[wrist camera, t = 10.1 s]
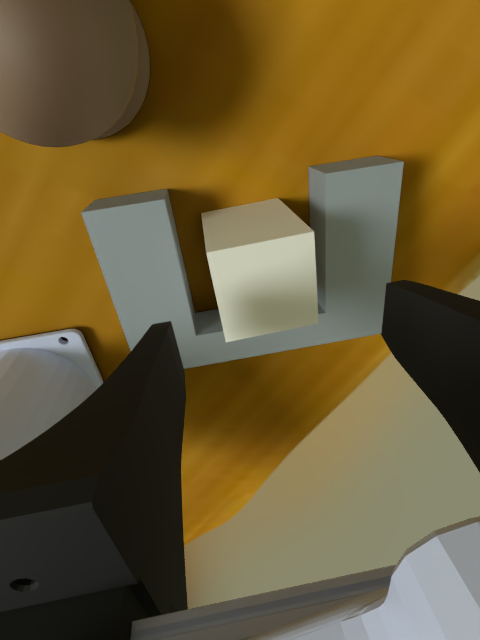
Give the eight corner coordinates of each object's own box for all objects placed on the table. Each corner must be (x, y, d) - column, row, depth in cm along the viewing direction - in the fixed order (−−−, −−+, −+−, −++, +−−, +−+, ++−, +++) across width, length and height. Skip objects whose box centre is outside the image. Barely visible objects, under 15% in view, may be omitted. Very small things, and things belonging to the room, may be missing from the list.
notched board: (144, 350, 21) (139, 377, 19) (94, 199, 17) (81, 212, 15) (366, 311, 22) (385, 332, 20) (377, 155, 17) (403, 161, 15)
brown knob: (29, 148, 15) (-24, 159, 11) (-45, -40, 12) (-152, -111, 8) (165, 128, 16) (158, 132, 12) (126, -61, 12) (98, -140, 9)
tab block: (216, 283, 20) (225, 342, 15) (201, 212, 18) (206, 252, 13) (285, 269, 20) (318, 323, 15) (277, 198, 18) (314, 231, 13)
